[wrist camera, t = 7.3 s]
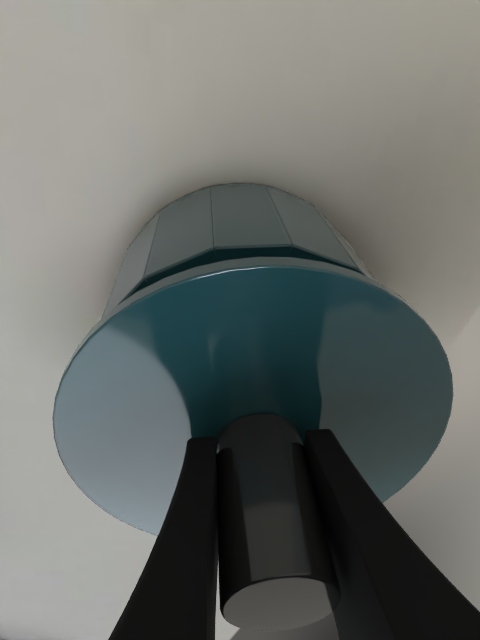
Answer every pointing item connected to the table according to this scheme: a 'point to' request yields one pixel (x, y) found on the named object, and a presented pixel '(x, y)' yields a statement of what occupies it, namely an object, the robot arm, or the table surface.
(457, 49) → the table surface
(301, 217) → the tin
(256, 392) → the lid
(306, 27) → the table surface
